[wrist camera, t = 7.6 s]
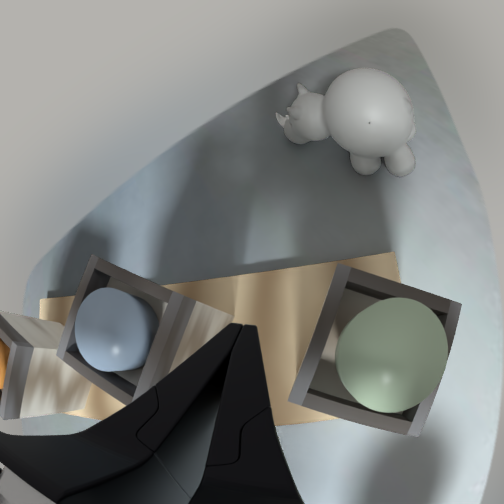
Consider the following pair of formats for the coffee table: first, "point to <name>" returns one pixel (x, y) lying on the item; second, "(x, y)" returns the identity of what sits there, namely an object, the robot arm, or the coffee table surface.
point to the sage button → (392, 354)
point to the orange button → (3, 361)
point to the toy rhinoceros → (358, 120)
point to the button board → (264, 310)
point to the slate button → (115, 330)
